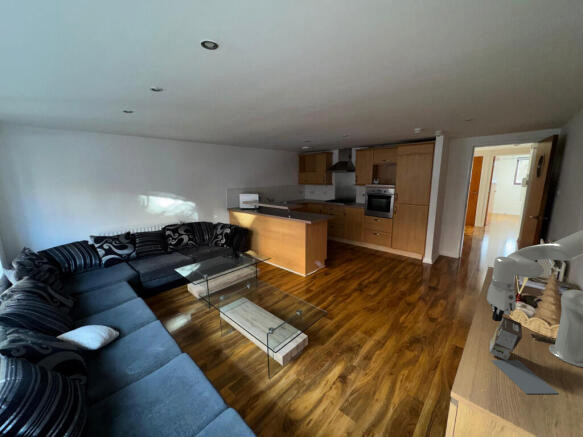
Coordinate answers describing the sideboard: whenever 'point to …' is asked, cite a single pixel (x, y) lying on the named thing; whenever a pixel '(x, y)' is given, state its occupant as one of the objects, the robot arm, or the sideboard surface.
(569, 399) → the sideboard surface
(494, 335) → the coffee box
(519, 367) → the felt mat
